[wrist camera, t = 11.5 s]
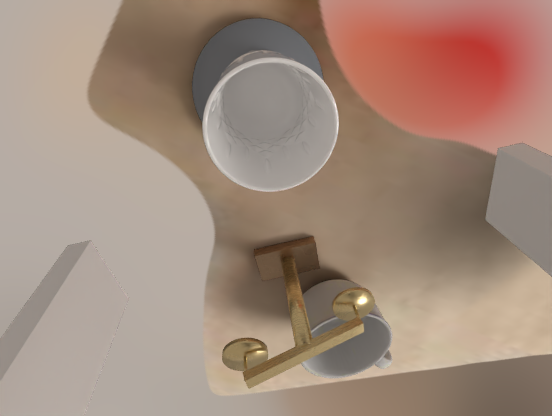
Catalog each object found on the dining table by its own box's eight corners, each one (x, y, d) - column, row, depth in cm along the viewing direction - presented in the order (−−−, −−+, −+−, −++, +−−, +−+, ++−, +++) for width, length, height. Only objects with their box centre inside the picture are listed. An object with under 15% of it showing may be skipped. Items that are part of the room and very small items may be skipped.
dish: (311, 3, 25) (314, 2, 24) (327, 136, 31) (330, 140, 30) (174, 36, 25) (171, 37, 24) (216, 162, 31) (215, 167, 30)
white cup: (313, 127, 29) (345, 176, 21) (229, 147, 29) (225, 204, 21) (298, 29, 25) (330, 40, 16) (200, 54, 25) (181, 78, 17)
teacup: (272, 297, 42) (279, 353, 35) (340, 251, 39) (362, 303, 32) (332, 343, 48) (347, 398, 41) (395, 306, 45) (422, 359, 38)
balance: (345, 228, 37) (398, 337, 25) (348, 254, 39) (398, 366, 27) (222, 256, 37) (214, 376, 25) (231, 280, 39) (228, 402, 27)
